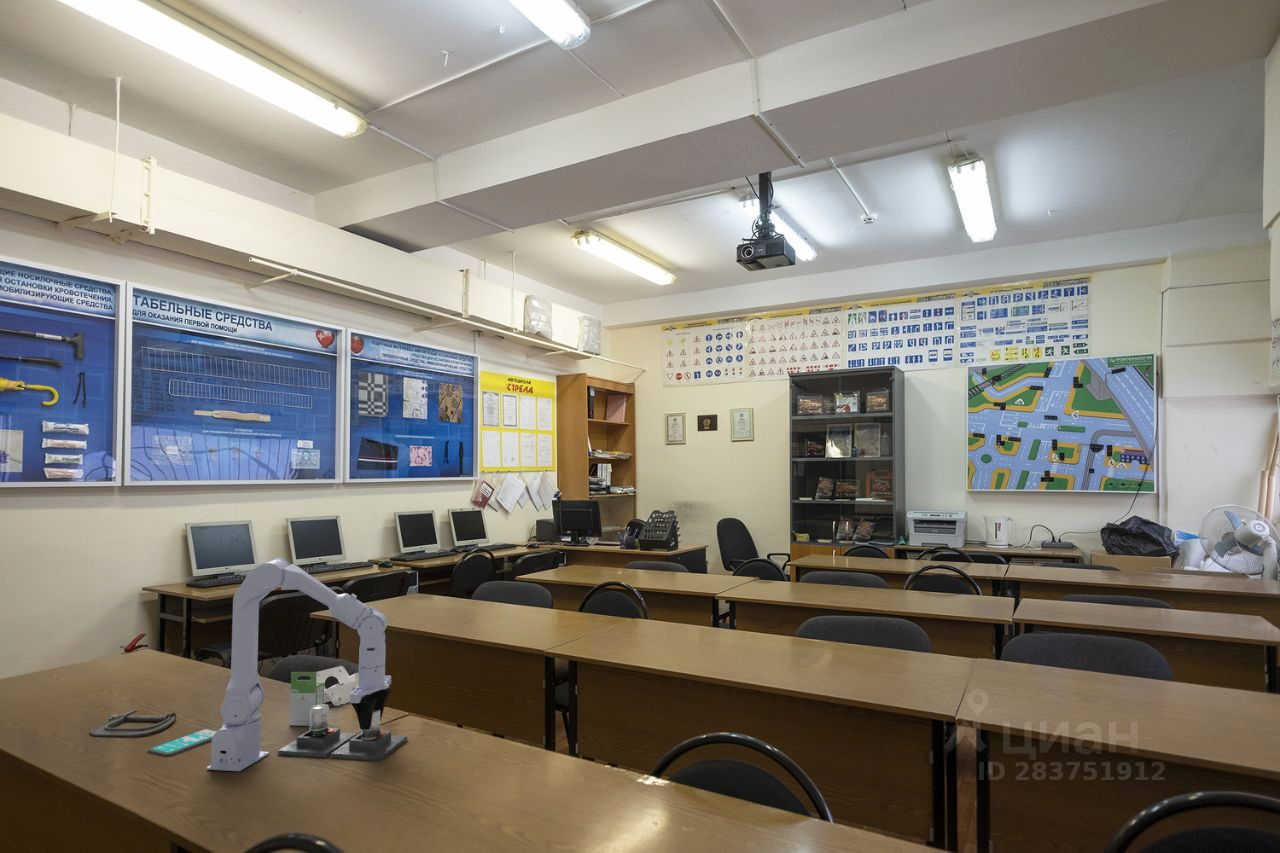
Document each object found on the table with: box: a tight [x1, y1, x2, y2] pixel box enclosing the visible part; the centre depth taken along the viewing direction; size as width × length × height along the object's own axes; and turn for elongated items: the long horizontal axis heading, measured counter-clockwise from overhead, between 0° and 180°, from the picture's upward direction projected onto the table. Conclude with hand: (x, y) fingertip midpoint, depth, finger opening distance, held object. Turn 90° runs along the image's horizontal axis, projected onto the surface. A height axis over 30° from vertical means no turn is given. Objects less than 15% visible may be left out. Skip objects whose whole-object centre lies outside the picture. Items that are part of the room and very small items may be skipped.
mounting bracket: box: [316, 665, 359, 707], centre depth 193 cm, size 12×6×11 cm, turn 145°
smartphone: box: [147, 727, 221, 757], centre depth 162 cm, size 9×1×15 cm
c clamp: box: [90, 709, 177, 738], centre depth 174 cm, size 20×17×3 cm
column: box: [360, 708, 381, 740], centre depth 158 cm, size 4×4×6 cm
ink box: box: [288, 671, 325, 727], centre depth 175 cm, size 7×4×13 cm, turn 84°
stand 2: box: [330, 729, 408, 762], centre depth 158 cm, size 12×12×4 cm
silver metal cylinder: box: [308, 703, 330, 736], centre depth 160 cm, size 4×4×6 cm
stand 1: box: [277, 727, 358, 759], centre depth 160 cm, size 12×12×4 cm
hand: (370, 725), depth 158 cm, fingers closed on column, 4 cm apart
